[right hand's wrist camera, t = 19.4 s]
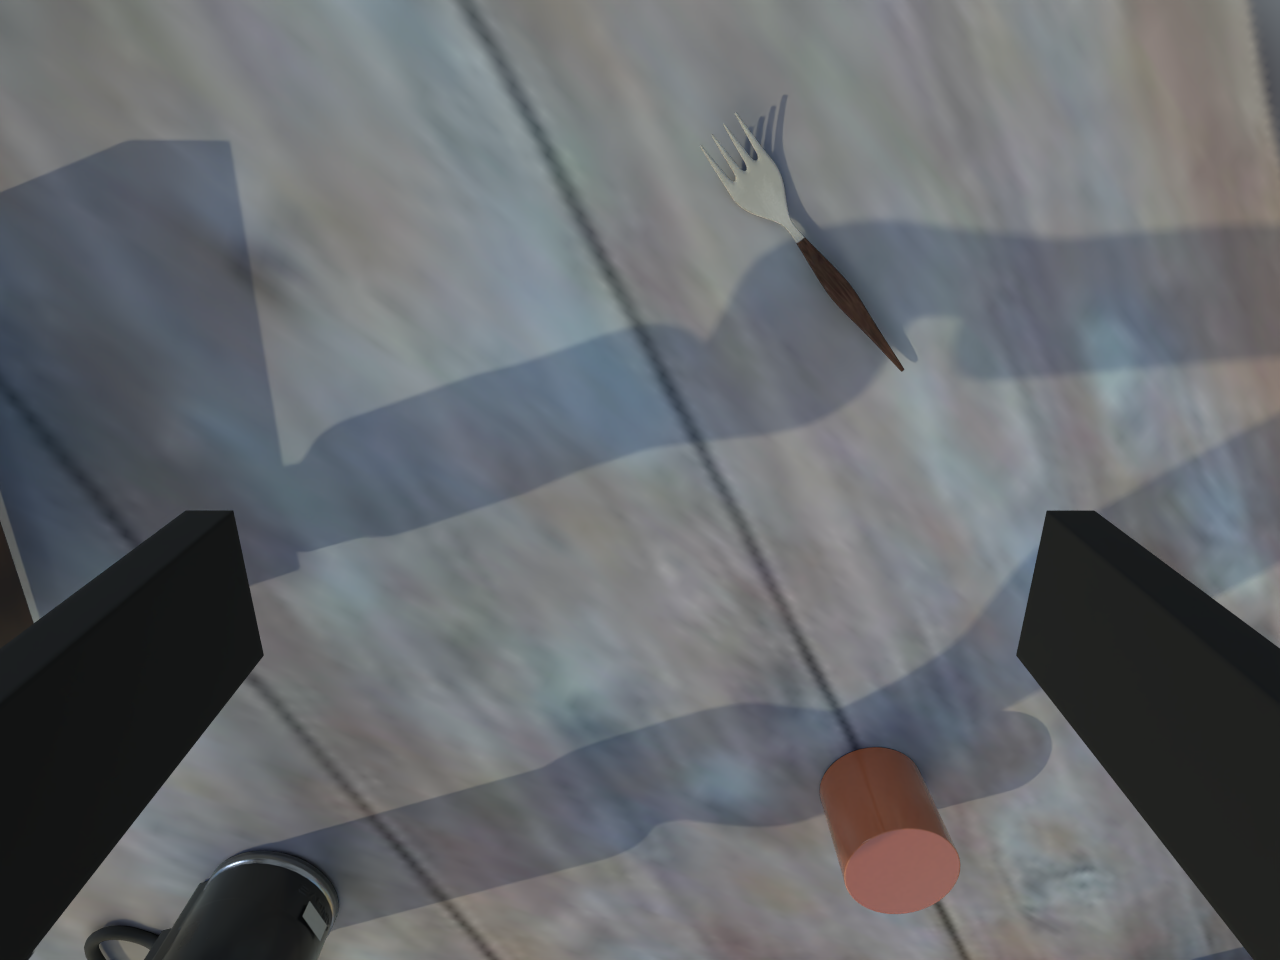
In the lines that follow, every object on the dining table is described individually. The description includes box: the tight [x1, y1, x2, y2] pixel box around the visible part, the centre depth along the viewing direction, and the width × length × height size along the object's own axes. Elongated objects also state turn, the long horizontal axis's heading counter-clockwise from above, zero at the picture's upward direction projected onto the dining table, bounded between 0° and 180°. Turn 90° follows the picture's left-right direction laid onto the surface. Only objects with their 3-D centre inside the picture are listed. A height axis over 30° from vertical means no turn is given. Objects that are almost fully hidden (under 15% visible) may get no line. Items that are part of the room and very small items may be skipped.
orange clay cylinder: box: [820, 747, 960, 914], centre depth 50 cm, size 7×7×7 cm
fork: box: [700, 112, 904, 371], centre depth 39 cm, size 3×16×2 cm, turn 42°
